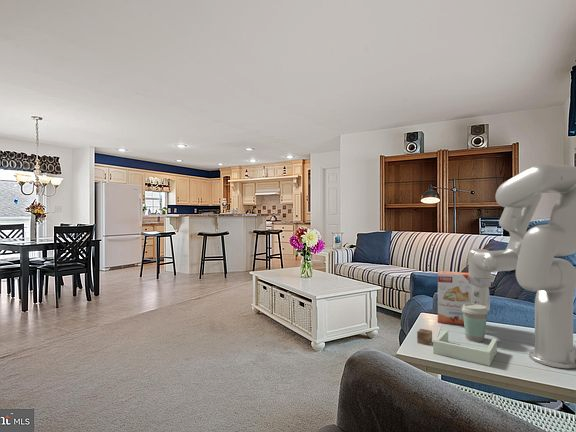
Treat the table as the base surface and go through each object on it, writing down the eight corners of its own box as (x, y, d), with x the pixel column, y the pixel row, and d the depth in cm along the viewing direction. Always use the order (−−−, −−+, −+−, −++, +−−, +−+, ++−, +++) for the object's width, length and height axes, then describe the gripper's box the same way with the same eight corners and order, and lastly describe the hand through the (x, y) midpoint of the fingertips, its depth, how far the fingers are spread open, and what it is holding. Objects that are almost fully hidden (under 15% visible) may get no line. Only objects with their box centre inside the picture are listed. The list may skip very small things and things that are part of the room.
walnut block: (432, 341, 127) (432, 330, 127) (429, 345, 123) (429, 333, 123) (420, 339, 129) (420, 328, 129) (417, 343, 126) (417, 331, 126)
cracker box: (437, 322, 148) (437, 272, 147) (437, 318, 153) (437, 270, 153) (475, 327, 142) (475, 274, 142) (474, 322, 148) (474, 272, 147)
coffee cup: (481, 335, 133) (481, 303, 133) (492, 343, 124) (492, 309, 124) (458, 334, 134) (457, 302, 133) (467, 343, 125) (467, 309, 125)
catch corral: (496, 351, 117) (496, 339, 117) (489, 365, 106) (489, 352, 106) (444, 340, 127) (444, 329, 127) (433, 353, 116) (433, 340, 116)
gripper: (487, 286, 128) (487, 337, 128) (494, 279, 139) (494, 326, 139) (464, 283, 132) (464, 332, 132) (472, 277, 144) (473, 322, 144)
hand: (479, 329), depth 136 cm, fingers closed
